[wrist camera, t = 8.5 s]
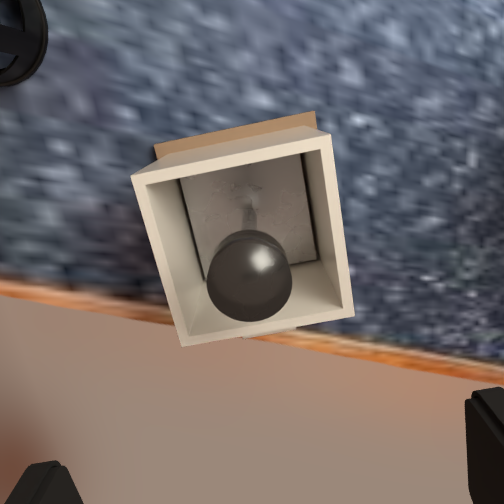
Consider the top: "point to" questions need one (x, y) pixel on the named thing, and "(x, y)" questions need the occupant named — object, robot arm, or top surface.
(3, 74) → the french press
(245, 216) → the plunger
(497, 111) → the top surface
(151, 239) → the white open box
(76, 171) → the top surface
